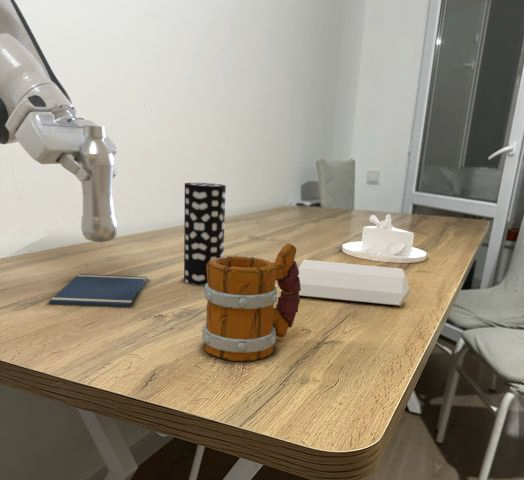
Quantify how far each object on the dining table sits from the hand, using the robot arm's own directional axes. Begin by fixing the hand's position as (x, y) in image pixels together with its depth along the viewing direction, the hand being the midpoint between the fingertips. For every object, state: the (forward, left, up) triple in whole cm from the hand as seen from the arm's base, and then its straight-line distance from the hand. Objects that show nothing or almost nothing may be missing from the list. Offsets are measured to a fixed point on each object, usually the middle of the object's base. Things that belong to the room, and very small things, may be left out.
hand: (99, 178), depth 93 cm
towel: (-1, 0, -21) cm, 21 cm away
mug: (+27, -27, -21) cm, 44 cm away
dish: (+70, +53, -21) cm, 91 cm away
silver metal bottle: (-1, 0, -12) cm, 12 cm away
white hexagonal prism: (+48, +2, -21) cm, 53 cm away
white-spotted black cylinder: (+18, +11, -21) cm, 30 cm away
